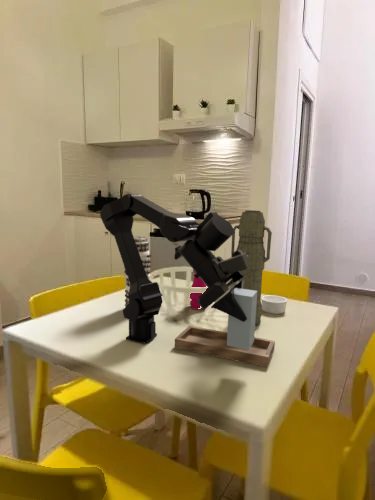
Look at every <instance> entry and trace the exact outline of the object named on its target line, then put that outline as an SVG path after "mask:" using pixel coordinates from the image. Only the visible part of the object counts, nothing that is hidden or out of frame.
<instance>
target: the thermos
mask: <svg viewBox="0 0 375 500" xmlns="http://www.w3.org/2000/svg"><path fill="white" fill-rule="evenodd" d="M265 221H266V220H265V216H264V212H261V210H249V209H248V210H244V211H242V212H241V215H240V219H239V222H238V225H235V226H234V227H233V230H234V233H233V235H232V236H231V250H230V251H231V253H230V254H231V257H232V253H233V252H235V251H237V250H241V251H242V252H243V253H245V252H246V254H247V255H248V256H249V259H248V260H249V263H250V265H251V266H248V268H247V269H245V270H243V271H244V272H245V273H246V275H245V276H244V277H243V278H241V279H240V280H239V282H240V281H242V280H243V279H244V284H243V289H248V290H255V291H257V305H256V319H255V327H258V326H260V325H261V322H262V320H261V319H262V315H263V313H262V312H263V310H262V300H261V297H262V282H263V281H262V280H263V271H264V270H265V263H266V262H268V261H269V260H270V255H271V254H270V253H271V246H272V245H271V244H272V234H273V231H272V230H271V229H270V227H268V226H265V225H266V224H265ZM236 230H238V237H239V238H238V244H237V247H236V250H235V244H236V243H235V240H236ZM265 231H266V233H267V243H266V245H267V246H266V250H265V246H264V243H265V242H264V238H265ZM231 257H230V258H231Z"/></svg>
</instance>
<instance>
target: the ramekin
mask: <svg viewBox="0 0 375 500" xmlns="http://www.w3.org/2000/svg"><path fill="white" fill-rule="evenodd" d="M287 302H288V299H287V298H286V297H284V296H281V295H275V294H270V295H269V294H268V295H263V296H261V303H262V312H264V313H265V312H266V313H268V314H271V315H272V314H273V315H279V314H280V315H281V314H284V313H285V312H286V308H287Z"/></svg>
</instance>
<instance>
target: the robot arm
mask: <svg viewBox="0 0 375 500" xmlns="http://www.w3.org/2000/svg"><path fill="white" fill-rule="evenodd" d="M99 213H100V214H99V216H100V219H101V222H102V223H103V226H104V227H105V230H107V231H108V232H109V233H110V234H111V235H112V236H113V237H114V239H115V243H116V245H117V248H118V252H119V255H120V257H121V260H122V264H123V266H124V267H125V268H124V271H125V270H126V273H127V276H128V279H129V282H130V289H129V294H128V298H129V302H130V303H129V304H128V305H127V306H126V307H124V308H123V309H122V313H123V318H124V319H126V320H128V335H127V336H126V337H125V340H126V341H131V342H136V343H142V344H148V343H149V342H150V341H152V340H153V339H154V338H155V337H157V335H158V334H157V333H156V328H157V327H156V326H157V325H156V321H155V316H156V315H159V313H160V310H161V308H162V304H163V298H162V297H163V296H164V295H163V294H162V292H161V289H160V286H159V283H158V282H157V281H154V282H152V281H151V280H150V279H149V278H148V277H147V274H146V272H145V269H144V266H143V263H142V260H141V257H140V254H139V251H138V248H137V245H136V243H135V240H134V234H133V231H132V230H133V225H134V217H135V216H136V215H139V216H140V217H142V218H143V219H145V220H147V221H149V223H152V224H153V225H154V226H156V227H158V229H159V232H160V233H161V235H162V236H163V237H165V238H166V239H167V240H168V241H169V242H170V243H171V242H172V243H181V242H184V243H183V244H182V245H178V246H176V247H175V248H174V251H175V253H174V260H176V261H177V260H178V259H180V258H182V257H183V258H184V260H185V261H186V262H187V263H188V265H189V266H190V267H191V269H192V271H193V270H194V271H195V272H196V274H195V275H194V274H193V277H194V276H195V277H196V278H199V277H200V278H201V279H202V281H203V282H204V283H205V284H206V286H207V287H208V288H207V289H206V291H205V292H204V293H203V294H202V295H200V296H199V297H198V303H199V305H200V306H201V307H202V308H203V309H202V310H203V311H204V310H206V309H207V308H208V307H209V306H210V309H215V310H218V311H220V312H222V313H224V314H227V315H228V314H229V315H231V316H233V317H235V318H237V319H239V320H240V321H242V322H244V321H246V320H247V317H246V315H245V314H244V312H243V311H242V309H241V307H240V306H239V304H238V303H237V301H236V300H235V298H234V289H235V288H241V289H243V284H244V279H243V280H242V281H240V282H239V280H240V279H241V278H243V277H244V276H245V275H246V273H245V272H244V271H243V270H245V269H247V268H248V266H251V265H250V263H249V260H248V259H249V256H248V255H247V254H246V252H245V253H243V252H242V251H241V250H237V251H236V250H234V252H233V253H232V257H229V258H226V259H224V258H222V257H221V256H215V255H214V253H213V252H217V250H218V249H219V248H220V247H221V246H222V245H223V244H225V242H227V241H228V240H229V239H230V238H232V235H233V233H234V230H233V228H234V227H233V226H232V224H231V222H229V221H228V220H227V219H226V218H224V217H223V216H221V215H219V214H218V212H217V211H210V212H208V214H207V215H206V216H205V217H204V220H202V222H197V220H196V219H195V218H194V217H192V216H189V215H185V214H183V213H177V212H172V211H169V210H168V209H166V208H164V207H162V206H160V205H159V204H157V203H155V202H153V201H151V200H150V199H147V198H146V197H144V196H143V195H142V194H141V193H126V194H124V195H123V196H122V197H119V198H117V199H115V200H112V201H110V202H109V203H105V204H104V205H103V206H102V208H101V209H100V211H99Z"/></svg>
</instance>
